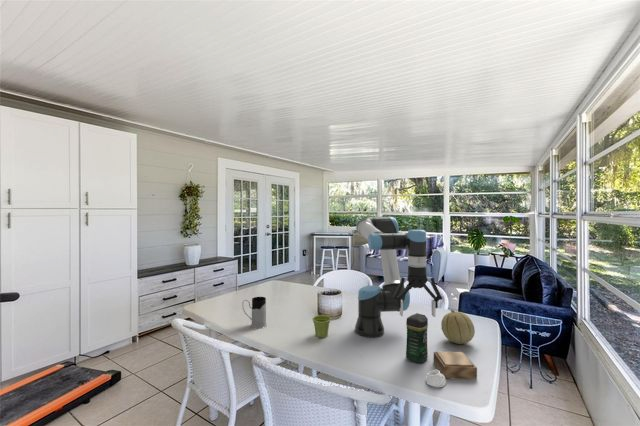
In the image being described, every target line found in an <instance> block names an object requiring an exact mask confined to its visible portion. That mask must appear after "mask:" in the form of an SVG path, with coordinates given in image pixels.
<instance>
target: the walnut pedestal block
mask: <svg viewBox="0 0 640 426" xmlns="http://www.w3.org/2000/svg"><path fill="white" fill-rule="evenodd" d="M433 364H434V366H435V367H436V366H437V367H436V368H437V370H438V369H439V371H440V372H441V374H443V375H444V377H445V378H454V379H453V380H478V368H477V366H476V365H475V364H474V363H473V361H471V360H470V358H469V357H468V356H467V355H466V354H465V353H464V352H463V351H438V350H437V351H433Z"/></svg>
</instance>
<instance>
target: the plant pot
mask: <svg viewBox="0 0 640 426" xmlns="http://www.w3.org/2000/svg"><path fill="white" fill-rule="evenodd" d="M331 320H332V318H331V317H330V316H328V315H322V314H321V315H316V316H315V315H314V317H312V321H313V326H314V331H315V332H314V333H315V337H316V338H323V339H324V338H326V337H328V334H329V327H330V322H331Z"/></svg>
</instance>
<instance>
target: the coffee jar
mask: <svg viewBox="0 0 640 426" xmlns="http://www.w3.org/2000/svg"><path fill="white" fill-rule="evenodd" d="M428 320H429V319H428V317H427V316H426V315H425V314H422V313H418V312H417V313H414V314H412V315H410V316H408V317H406V323H405V325H406V346H405V347H406V348H405V358H406V359H407V361H409V362H412V363H415V364H417V363H418V364H423V363H424V362H425V361H426V360H427V359H428V356H429V355H428V327H429V326H428V325H429V323H428Z"/></svg>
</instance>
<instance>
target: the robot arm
mask: <svg viewBox="0 0 640 426" xmlns="http://www.w3.org/2000/svg"><path fill="white" fill-rule="evenodd" d="M356 223H357V224H356V229H355V230H356V232H357V234H358V235H359V236H360V237H362V238H365V239H366V240H367V246H368V248H369V249H370V250H373V251H379V252H380V259H381V266H382V273H383V274H382V275H383V281H384V282H383V284H382V286H379V285H374V284H373V285H372V284H371V285H365V286H363V287H361V288H360V289H359V290H358V295H357V300H358V304H357V305H358V307H357V308H358V309H357V311H358V312H357V313H358V314H357V315H358V317H357V319H356V323H355V326H354V331H355V332H354V333H356V334H357V335H359V336H361V337H366V338H377V337H382V336H383V335H384V334H385V327H384V324H383V320H382V317H381V314H382V312H384V313H387V312H399V315H400V317H404V311H405V312H406V311H407V310H408V308H409V307H410V302H411V293H410V290H412V288H413V289H422V288H423V289H424V290H425V291H426V292H427V293H428V295H429V296H430V297H431V298H432V299H431V316H432V317H433V318H436V309H438V307H439V305H438V304H439V303H438V302H439V301H441V300H443V296H442V294H441V293H440V290H439V289H438V287H437V284H436V282H435V277H432V276H430V277H427V267H426V266H427V239H428V238H427V232H426V230H424V229H409V230H408V231H407V232H399V224H398V221H397V219H396V218H395V217H393V216H366V217H364V218H361V219H360V220H359V221H358V222H356ZM398 250H400V251H401V250H403V251H404V250H407V264H408V266H407V277H406V276H405V277H404V276H401V275H400V269H399V264H398V263H399V262H398V257H397V251H398ZM406 282H407V284H406V286H405V283H406ZM427 282H429V283H430V284H431V287H432V289H433V291H434V293H435V294H434V293H433V292H432V291H431V289H430V288H429V287H428V286H427V284H426V283H427Z"/></svg>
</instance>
